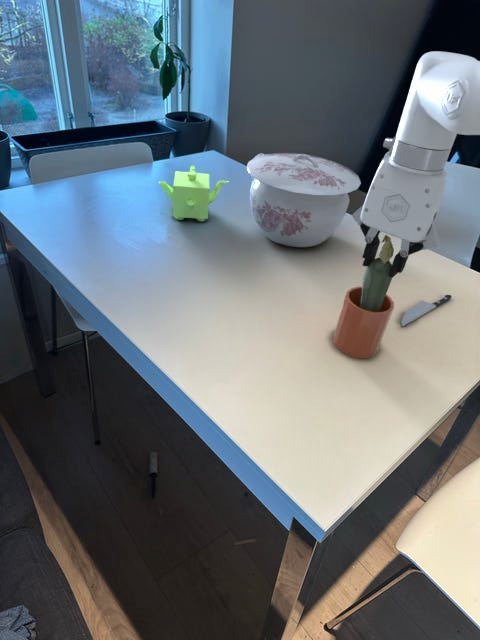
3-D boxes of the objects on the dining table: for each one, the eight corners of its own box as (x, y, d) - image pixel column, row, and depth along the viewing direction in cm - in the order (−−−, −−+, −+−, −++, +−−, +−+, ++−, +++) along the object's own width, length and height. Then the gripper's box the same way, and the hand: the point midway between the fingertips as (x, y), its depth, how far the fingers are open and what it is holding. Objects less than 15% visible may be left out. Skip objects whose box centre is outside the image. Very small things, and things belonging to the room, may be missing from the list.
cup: (384, 343, 84) (401, 300, 78) (365, 365, 78) (382, 320, 72) (345, 324, 88) (359, 281, 82) (325, 343, 82) (337, 299, 76)
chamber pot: (354, 265, 107) (379, 181, 94) (240, 256, 105) (250, 168, 92) (333, 216, 129) (351, 142, 117) (239, 208, 127) (246, 132, 115)
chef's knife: (389, 320, 90) (401, 327, 88) (390, 316, 90) (403, 323, 88) (439, 293, 101) (452, 299, 99) (441, 288, 100) (453, 294, 98)
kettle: (191, 199, 129) (193, 159, 122) (228, 216, 122) (232, 175, 116) (151, 212, 119) (151, 170, 112) (189, 231, 112) (191, 188, 106)
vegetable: (372, 345, 80) (407, 246, 68) (348, 343, 80) (380, 243, 68) (367, 330, 84) (400, 233, 72) (344, 328, 84) (373, 230, 72)
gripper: (353, 144, 63) (325, 257, 74) (472, 179, 56) (421, 299, 67) (374, 136, 68) (346, 243, 79) (486, 167, 61) (437, 280, 72)
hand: (381, 267), depth 73 cm, fingers closed on vegetable, 3 cm apart
